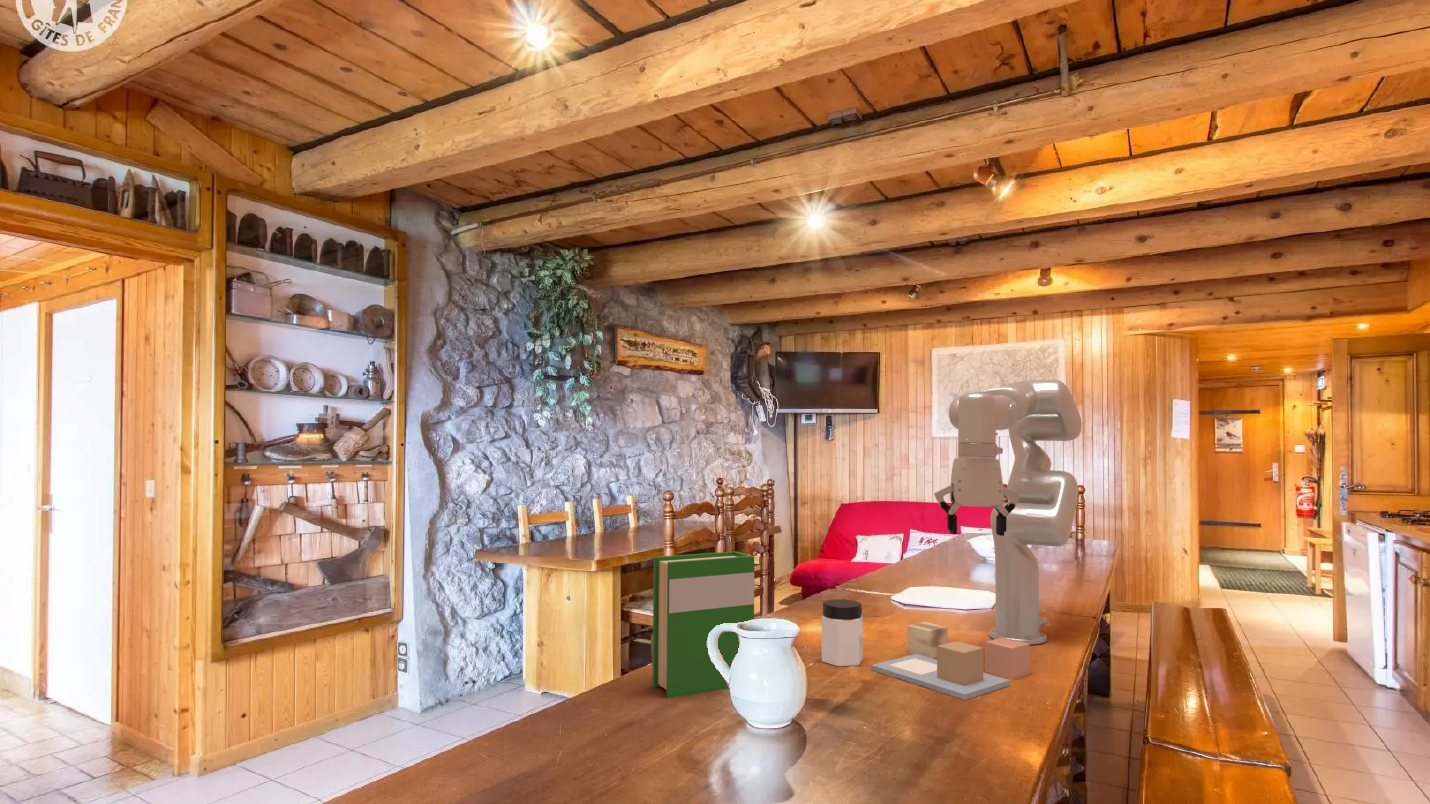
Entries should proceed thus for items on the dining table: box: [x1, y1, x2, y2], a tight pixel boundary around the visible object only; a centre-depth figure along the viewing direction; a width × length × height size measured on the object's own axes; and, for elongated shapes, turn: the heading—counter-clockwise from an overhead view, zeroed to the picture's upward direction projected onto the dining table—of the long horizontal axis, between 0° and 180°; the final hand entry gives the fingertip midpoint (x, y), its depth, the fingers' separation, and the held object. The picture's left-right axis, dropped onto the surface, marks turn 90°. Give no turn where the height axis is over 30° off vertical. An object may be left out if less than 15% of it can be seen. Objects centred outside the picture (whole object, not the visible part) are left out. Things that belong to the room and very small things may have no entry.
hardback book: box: [651, 551, 755, 699], centre depth 146 cm, size 18×7×24 cm, turn 117°
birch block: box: [906, 621, 948, 659], centre depth 168 cm, size 6×6×6 cm
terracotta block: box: [984, 637, 1031, 680], centre depth 154 cm, size 6×6×6 cm
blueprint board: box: [870, 640, 1011, 701], centre depth 151 cm, size 14×22×7 cm, turn 37°
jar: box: [821, 598, 864, 667], centre depth 162 cm, size 9×8×12 cm
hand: (976, 534), depth 161 cm, fingers open, 9 cm apart
